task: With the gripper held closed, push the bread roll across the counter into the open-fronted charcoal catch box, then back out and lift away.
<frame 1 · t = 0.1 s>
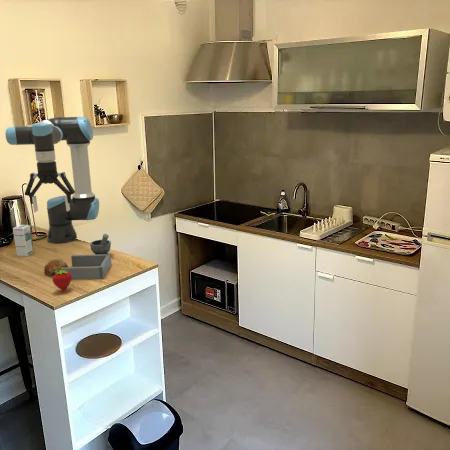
hand: (52, 211, 195), 28 cm above the countertop, tool pointing down, fingers open, 13 cm apart
mortar and pestle: (102, 256, 222), on the countertop
strawberry: (63, 291, 183), on the countertop
bread roll: (56, 273, 202), on the countertop
syrup box: (25, 254, 226), on the countertop
catch box: (87, 271, 203), on the countertop
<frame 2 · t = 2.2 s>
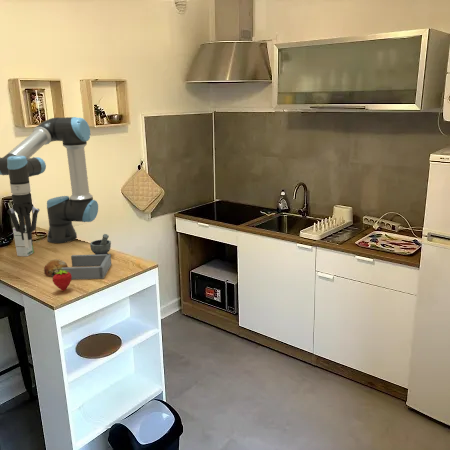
hand: (28, 246, 198), 12 cm above the countertop, tool pointing down, fingers closed
nothing on the countertop moved.
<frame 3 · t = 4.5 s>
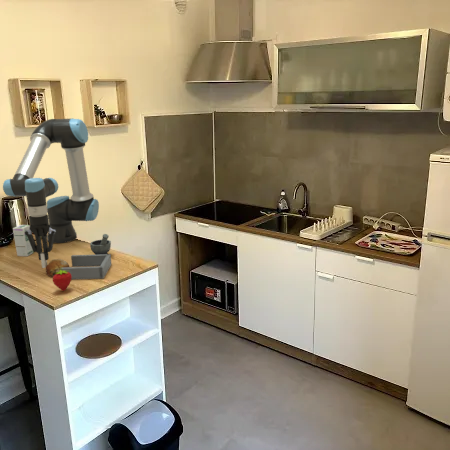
hand: (44, 266, 201), 3 cm above the countertop, tool pointing down, fingers closed
bread roll: (58, 273, 202), on the countertop, touching gripper
everything else where it was.
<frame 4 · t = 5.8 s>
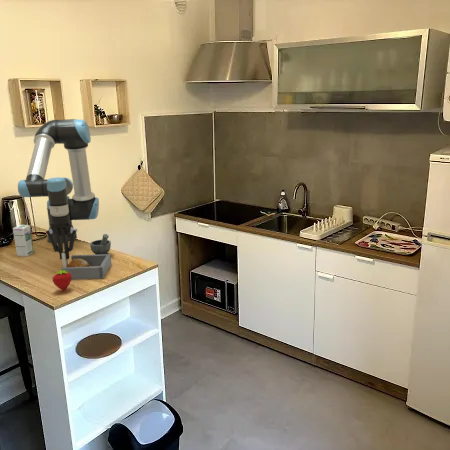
hand: (65, 266, 201), 3 cm above the countertop, tool pointing down, fingers closed
bread roll: (78, 273, 202), on the countertop, touching gripper
everything else where it was.
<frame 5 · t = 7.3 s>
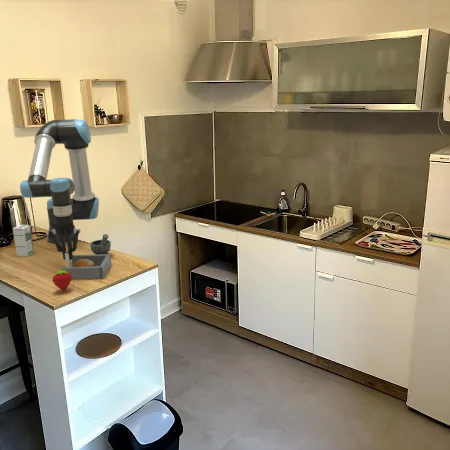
hand: (69, 266, 202), 3 cm above the countertop, tool pointing down, fingers closed
bread roll: (84, 273, 202), on the countertop
everything else where it was.
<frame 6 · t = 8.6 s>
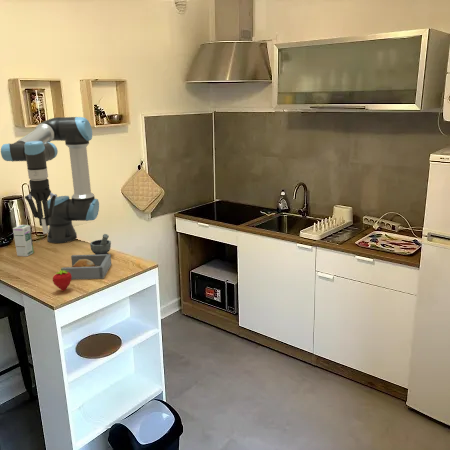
hand: (46, 232, 197), 18 cm above the countertop, tool pointing down, fingers closed
nothing on the countertop moved.
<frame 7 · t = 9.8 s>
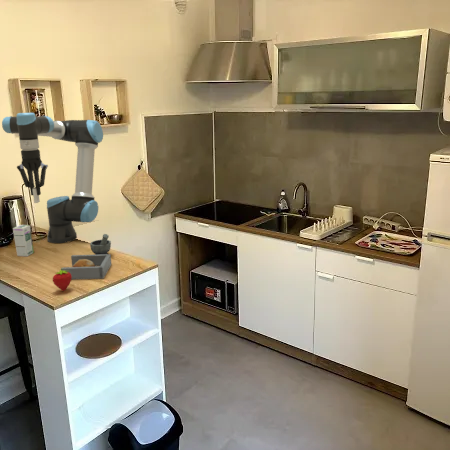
hand: (37, 202, 205), 29 cm above the countertop, tool pointing down, fingers closed
nothing on the countertop moved.
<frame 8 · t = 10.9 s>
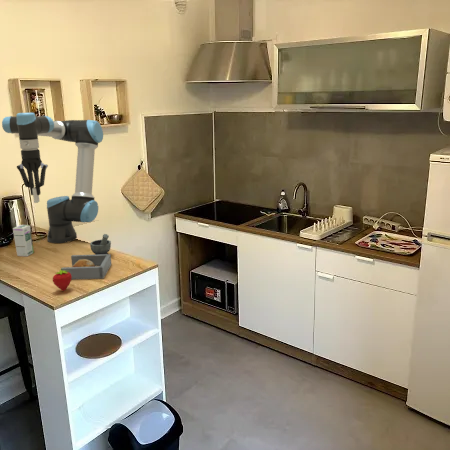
hand: (36, 202, 205), 29 cm above the countertop, tool pointing down, fingers closed
nothing on the countertop moved.
at the end: bread roll inside the target area on the catch box (2.4 cm from its centre), point 0.0 cm above the catch box's base; the gripper is holding nothing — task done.
